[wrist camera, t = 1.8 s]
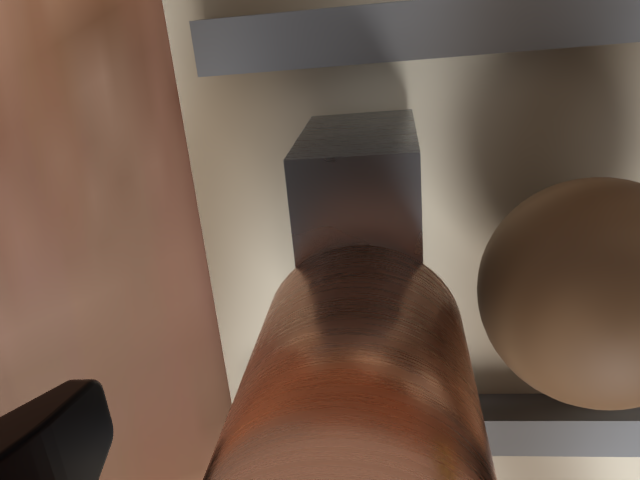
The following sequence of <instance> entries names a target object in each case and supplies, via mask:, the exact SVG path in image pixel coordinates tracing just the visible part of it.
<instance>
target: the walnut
mask: <svg viewBox="0 0 640 480" xmlns="http://www.w3.org/2000/svg"><path fill="white" fill-rule="evenodd" d="M477 301H478V308H479V312H480V317H481V321H482V323H483V326H484V329H485V331H486V334H487V336H488V338H489V340H490V342H491V344H492V345H493V347H494V349H495V351H496V352H497V353H498V355H499V356H500V357H501V358H502V360H503V361H504V362H505V364H506V365H507V366H508V367H509V368H510V369H511V370H512V371H513V372H514V373H515V374H516V375H517V376H518V377H520V378H521V379H522V380H523V381H524V382H526V383H527V384H529V385H530V386H531V387H533V388H534V389H536V390H538V391H540V392H542V393H543V394H545V395H547V396H549V397H551V398H553V399H556V400H558V401H561V402H563V403H566V404H570V405H574V406H578V407H582V408H588V409H595V410H625V409H631V408H637V407H640V183H639V182H635V181H631V180H626V179H620V178H612V177H591V178H582V179H575V180H570V181H566V182H562V183H559V184H556V185H553V186H550V187H547V188H545V189H543V190H541V191H539V192H537V193H535V194H533V195H532V196H530V197H529V198H527V199H526V200H524V201H523V202H521V203H520V204H519V205H518V206H516V207H515V208H514V209H513V210H512V211H511V212H510V213H509V214H508V215H507V216H506V217H505V218H504V219H503V220H502V221H501V223H500V224H499V226H498V227H497V228H496V230H495V231H494V233H493V234H492V236H491V238H490V240H489V241H488V243H487V245H486V248H485V250H484V253H483V255H482V258H481V262H480V266H479V271H478V279H477Z"/></svg>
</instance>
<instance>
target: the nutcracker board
mask: <svg viewBox="0 0 640 480" xmlns="http://www.w3.org/2000/svg"><path fill="white" fill-rule="evenodd" d="M162 2H163V8H164V14H165V20H166V25H167V31H168V37H169V43H170V48H171V54H172V60H173V66H174V72H175V77H176V83H177V89H178V95H179V101H180V106H181V112H182V118H183V124H184V130H185V135H186V141H187V147H188V153H189V159H190V164H191V170H192V176H193V182H194V187H195V193H196V199H197V205H198V211H199V216H200V222H201V228H202V234H203V240H204V245H205V251H206V257H207V263H208V269H209V274H210V280H211V286H212V292H213V297H214V303H215V309H216V315H217V321H218V326H219V332H220V338H221V344H222V350H223V355H224V361H225V367H226V373H227V379H228V384H229V390H230V396H231V402H232V403H233V401H234V398H235V396H236V393H237V390H238V388H239V385H240V383H241V380H242V377H243V375H244V372H245V370H246V367H247V364H248V362H249V359H250V357H251V354H252V351H253V349H254V346H255V344H256V341H257V339H258V336H259V333H260V331H261V328H262V326H263V323H264V320H265V318H266V315H267V313H268V310H269V307H270V305H271V302H272V300H273V297H274V295H275V293H276V291H277V290H278V288H279V286H280V285H281V283H282V282H283V281H284V279H285V278H286V277H287V276H288V275H289V274H290V273H291V272H292V271H293V270H294V269H295V260H294V251H293V242H292V233H291V224H290V215H289V207H288V198H287V189H286V180H285V171H284V162H283V160H284V158H285V157H286V155H287V154H288V152H289V151H290V149H291V148H292V146H293V145H294V143H295V141H296V140H297V138H298V137H299V135H300V134H301V132H302V131H303V129H304V128H305V126H306V124H307V123H308V121H309V120H310V118H311V117H312V116H322V115H336V114H351V113H365V112H380V111H394V110H408V109H412V111H413V117H414V122H415V127H416V132H417V137H418V142H419V147H420V155H421V193H422V232H423V264H424V265H426V266H427V267H428V268H430V269H431V270H432V271H433V272H435V273H436V274H437V275H438V276H439V277H440V278H441V279H442V281H443V282H444V283H445V284H446V286H447V287H448V288H449V290H450V291H451V293H452V295H453V297H454V298H455V300H456V303H457V305H458V308H459V310H460V315H461V319H462V323H463V328H464V332H465V337H466V341H467V346H468V350H469V355H470V359H471V364H472V368H473V373H474V377H475V382H476V386H477V391H478V396H479V400H480V405H481V409H482V414H483V418H484V423H485V427H486V432H487V436H488V441H489V445H490V450H491V454H492V459H493V463H494V468H495V472H496V477H497V480H640V407H637V408H631V409H625V410H595V409H588V408H582V407H578V406H574V405H570V404H566V403H563V402H561V401H558V400H556V399H553V398H551V397H549V396H547V395H545V394H543V393H542V392H540V391H538V390H536V389H534V388H533V387H531V386H530V385H529V384H527V383H526V382H524V381H523V380H522V379H521V378H520V377H518V376H517V375H516V374H515V373H514V372H513V371H512V370H511V369H510V368H509V367H508V366H507V365H506V364H505V362H504V361H503V360H502V358H501V357H500V356H499V355H498V353H497V352H496V351H495V349H494V347H493V345H492V344H491V342H490V340H489V338H488V336H487V334H486V331H485V329H484V326H483V323H482V321H481V317H480V312H479V308H478V301H477V279H478V271H479V266H480V262H481V258H482V255H483V253H484V250H485V248H486V245H487V243H488V241H489V240H490V238H491V236H492V234H493V233H494V231H495V230H496V228H497V227H498V226H499V224H500V223H501V221H502V220H503V219H504V218H505V217H506V216H507V215H508V214H509V213H510V212H511V211H512V210H513V209H514V208H515V207H516V206H518V205H519V204H520V203H521V202H523V201H524V200H526V199H527V198H529V197H530V196H532V195H533V194H535V193H537V192H539V191H541V190H543V189H545V188H547V187H550V186H553V185H556V184H559V183H562V182H566V181H570V180H575V179H582V178H591V177H612V178H620V179H626V180H631V181H635V182H639V183H640V0H162Z"/></svg>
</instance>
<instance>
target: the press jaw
mask: <svg viewBox="0 0 640 480" xmlns="http://www.w3.org/2000/svg"><path fill="white" fill-rule="evenodd" d="M283 162H284V171H285V180H286V189H287V198H288V207H289V215H290V224H291V233H292V242H293V251H294V260H295V269H294V270H293V271H292V272H291V273H290V274H289V275H288V276H287V277H286V278H285V279H284V281H283V282H282V283H281V285H280V286H279V288H278V290H277V291H276V293H275V295H274V297H273V300H272V302H271V305H270V307H269V310H268V313H267V315H266V318H265V320H264V323H263V326H262V328H261V331H260V333H259V336H258V339H257V341H256V344H255V346H254V349H253V351H252V354H251V357H250V359H249V362H248V364H247V367H246V370H245V372H244V375H243V377H242V380H241V383H240V385H239V388H238V390H237V393H236V396H235V398H234V401H233V403H232V406H231V409H230V411H229V414H228V416H227V419H226V421H225V424H224V427H223V429H222V432H221V434H220V437H219V440H218V442H217V445H216V447H215V450H214V453H213V455H212V458H211V460H210V463H209V466H208V468H207V471H206V473H205V476H204V478H203V480H497V477H496V472H495V468H494V463H493V459H492V454H491V450H490V445H489V441H488V436H487V432H486V427H485V423H484V418H483V414H482V409H481V405H480V400H479V396H478V391H477V386H476V382H475V377H474V373H473V368H472V364H471V359H470V355H469V350H468V346H467V341H466V337H465V332H464V328H463V323H462V319H461V315H460V310H459V308H458V305H457V303H456V300H455V298H454V297H453V295H452V293H451V291H450V290H449V288H448V287H447V286H446V284H445V283H444V282H443V281H442V279H441V278H440V277H439V276H438V275H437V274H436V273H435V272H433V271H432V270H431V269H430V268H428V267H427V266H426V265H424V264H423V232H422V193H421V155H420V147H419V142H418V137H417V132H416V127H415V122H414V117H413V111H412V109H408V110H394V111H380V112H365V113H351V114H336V115H322V116H312V117H311V118H310V120H309V121H308V123H307V124H306V126H305V128H304V129H303V131H302V132H301V134H300V135H299V137H298V138H297V140H296V141H295V143H294V145H293V146H292V148H291V149H290V151H289V152H288V154H287V155H286V157H285V158H284V160H283Z"/></svg>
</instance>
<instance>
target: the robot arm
mask: <svg viewBox="0 0 640 480" xmlns="http://www.w3.org/2000/svg"><path fill="white" fill-rule="evenodd" d="M112 439H113V424H112V420H111V416H110V412H109V409H108V405H107V401H106V397H105V394H104V390H103V387H102V385H101V384H100V382H98V381H97V380H94V379H85V380H69V381H67V382H65V383H63V384H61V385H59V386H57V387H55V388H53V389H52V390H50V391H48V392H46V393H44V394H42V395H40V396H39V397H37V398H35V399H33V400H31V401H29V402H28V403H26V404H24V405H22V406H20V407H18V408H16V409H15V410H13V411H11V412H9V413H7V414H5V415H3V416H2V417H0V480H99V477H100V474H101V472H102V469H103V466H104V463H105V460H106V458H107V455H108V452H109V449H110V446H111V443H112Z"/></svg>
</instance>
